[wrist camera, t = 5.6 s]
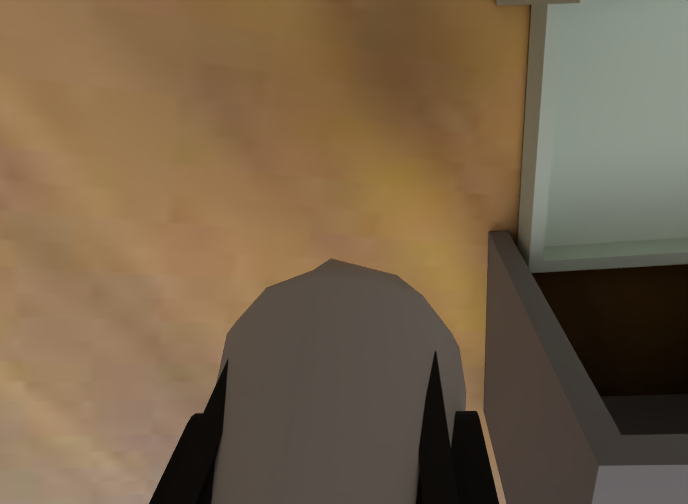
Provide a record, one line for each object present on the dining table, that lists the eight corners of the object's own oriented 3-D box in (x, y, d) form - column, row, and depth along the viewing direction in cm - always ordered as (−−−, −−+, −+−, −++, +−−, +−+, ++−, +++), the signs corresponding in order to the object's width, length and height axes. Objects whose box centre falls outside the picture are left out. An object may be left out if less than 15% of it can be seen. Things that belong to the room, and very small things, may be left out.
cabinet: (488, 231, 31) (599, 465, 15) (789, 211, 29) (1282, 457, 13) (483, 410, 38) (554, 698, 22) (724, 404, 36) (993, 716, 20)
